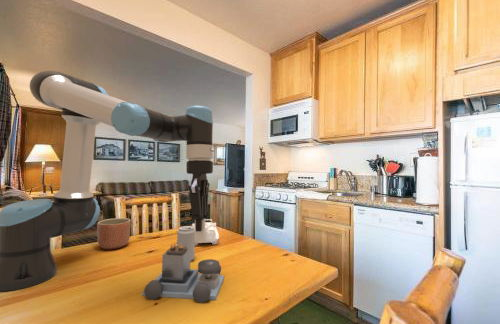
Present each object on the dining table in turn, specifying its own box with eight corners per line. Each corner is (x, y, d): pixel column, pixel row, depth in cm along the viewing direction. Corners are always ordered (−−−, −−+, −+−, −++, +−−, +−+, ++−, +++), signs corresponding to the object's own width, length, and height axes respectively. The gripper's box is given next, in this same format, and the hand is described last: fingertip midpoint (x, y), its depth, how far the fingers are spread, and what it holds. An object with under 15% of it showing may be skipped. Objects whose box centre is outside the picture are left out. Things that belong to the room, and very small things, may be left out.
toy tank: (215, 235, 121) (215, 216, 121) (219, 248, 101) (220, 226, 101) (191, 236, 118) (191, 217, 118) (191, 250, 98) (191, 227, 99)
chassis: (139, 298, 62) (139, 282, 62) (164, 273, 77) (164, 259, 78) (214, 303, 61) (214, 286, 61) (225, 276, 76) (225, 262, 76)
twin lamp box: (161, 287, 67) (162, 248, 67) (170, 277, 73) (171, 241, 73) (182, 288, 66) (183, 249, 66) (189, 278, 72) (190, 242, 72)
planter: (91, 253, 94) (92, 225, 94) (102, 243, 106) (103, 218, 106) (125, 250, 97) (126, 224, 97) (133, 241, 109) (133, 217, 109)
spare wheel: (195, 281, 66) (195, 267, 66) (201, 271, 72) (201, 258, 72) (216, 282, 65) (216, 268, 65) (220, 272, 71) (221, 259, 71)
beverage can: (185, 264, 84) (186, 230, 84) (172, 261, 87) (173, 228, 88) (198, 258, 90) (198, 226, 90) (185, 255, 93) (186, 224, 93)
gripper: (206, 159, 63) (206, 249, 62) (217, 160, 76) (217, 235, 75) (178, 159, 63) (178, 249, 63) (194, 160, 76) (194, 235, 76)
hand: (200, 241), depth 69 cm, fingers closed
